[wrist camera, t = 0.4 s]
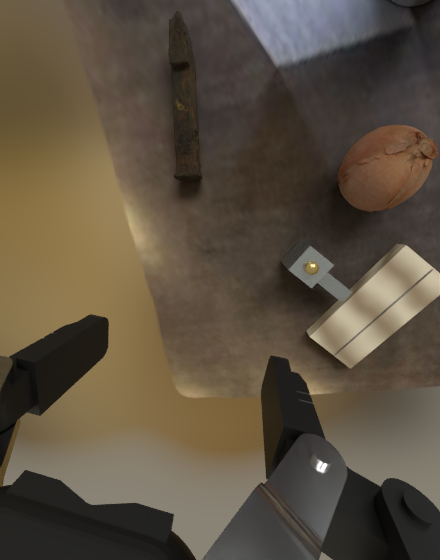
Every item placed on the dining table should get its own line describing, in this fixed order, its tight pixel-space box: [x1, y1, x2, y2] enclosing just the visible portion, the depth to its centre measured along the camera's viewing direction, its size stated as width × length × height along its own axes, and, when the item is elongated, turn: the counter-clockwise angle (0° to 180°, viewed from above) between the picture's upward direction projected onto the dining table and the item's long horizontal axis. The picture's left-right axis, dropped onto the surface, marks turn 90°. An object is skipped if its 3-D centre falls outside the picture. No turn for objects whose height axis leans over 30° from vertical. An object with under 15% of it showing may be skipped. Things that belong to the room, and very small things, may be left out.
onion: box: [337, 125, 439, 212], centre depth 26 cm, size 10×9×10 cm
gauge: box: [281, 242, 352, 302], centre depth 31 cm, size 4×10×8 cm, turn 53°
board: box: [307, 244, 440, 369], centre depth 34 cm, size 19×9×2 cm, turn 143°
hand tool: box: [169, 12, 202, 181], centre depth 29 cm, size 19×4×5 cm, turn 178°
